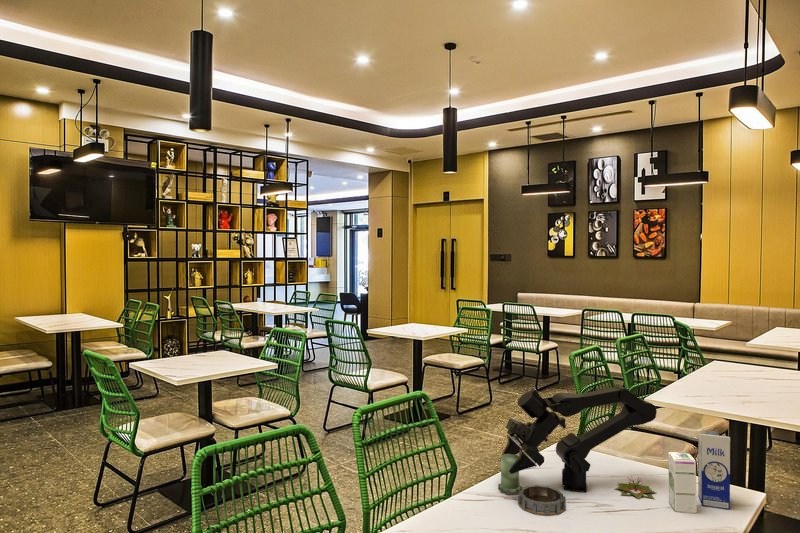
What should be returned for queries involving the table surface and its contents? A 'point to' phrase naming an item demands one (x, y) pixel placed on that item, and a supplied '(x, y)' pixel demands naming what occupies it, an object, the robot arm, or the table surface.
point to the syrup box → (682, 482)
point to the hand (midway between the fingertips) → (505, 466)
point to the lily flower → (635, 489)
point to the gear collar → (542, 500)
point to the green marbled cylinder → (509, 476)
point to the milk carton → (714, 470)
